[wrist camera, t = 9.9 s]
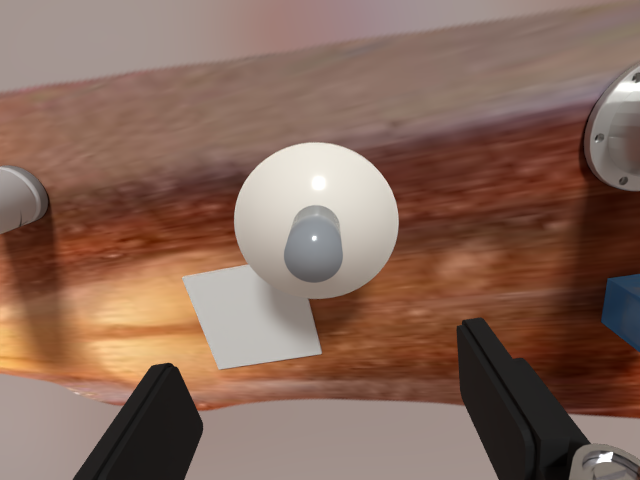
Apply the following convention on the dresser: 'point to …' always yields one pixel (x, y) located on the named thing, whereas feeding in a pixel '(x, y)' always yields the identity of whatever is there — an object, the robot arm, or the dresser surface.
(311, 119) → the dresser surface
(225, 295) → the mat
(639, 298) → the perfume bottle
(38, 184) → the travel mug
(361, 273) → the lid
